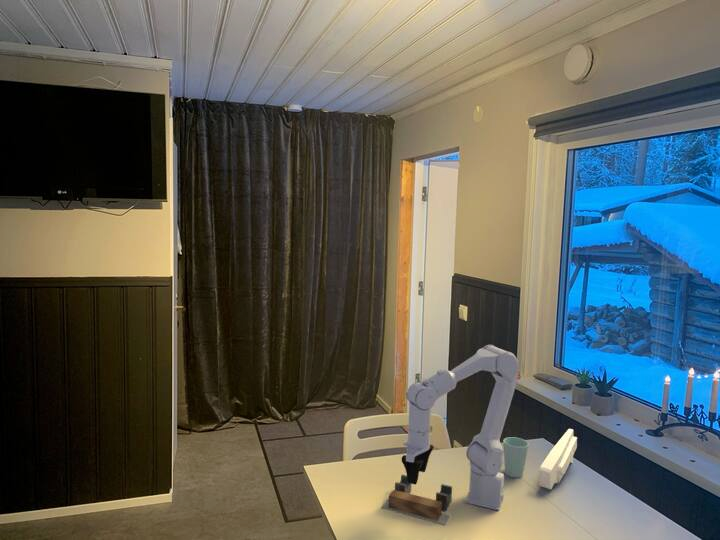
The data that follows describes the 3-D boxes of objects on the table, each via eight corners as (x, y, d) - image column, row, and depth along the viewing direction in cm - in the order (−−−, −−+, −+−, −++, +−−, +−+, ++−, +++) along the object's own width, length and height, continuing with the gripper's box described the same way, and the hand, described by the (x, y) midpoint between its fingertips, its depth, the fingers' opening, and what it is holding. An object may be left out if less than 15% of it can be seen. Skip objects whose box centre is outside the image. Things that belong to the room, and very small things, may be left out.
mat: (449, 515, 145) (449, 514, 145) (445, 525, 141) (445, 524, 141) (387, 499, 153) (387, 498, 153) (380, 508, 148) (381, 507, 148)
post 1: (411, 491, 158) (411, 476, 157) (404, 501, 152) (405, 485, 152) (401, 489, 159) (402, 474, 158) (394, 498, 153) (394, 483, 153)
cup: (521, 467, 175) (523, 437, 174) (530, 479, 167) (532, 447, 166) (498, 467, 175) (500, 436, 174) (506, 479, 167) (508, 447, 166)
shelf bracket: (579, 464, 179) (579, 431, 176) (554, 509, 160) (554, 472, 157) (562, 459, 183) (562, 426, 179) (535, 503, 164) (535, 467, 161)
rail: (441, 514, 145) (442, 501, 145) (438, 520, 142) (438, 508, 142) (392, 501, 151) (393, 489, 151) (388, 507, 148) (388, 495, 148)
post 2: (451, 501, 153) (452, 486, 152) (445, 511, 147) (446, 496, 147) (441, 498, 154) (441, 483, 154) (435, 509, 149) (436, 493, 148)
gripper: (413, 416, 153) (411, 463, 154) (395, 435, 139) (393, 485, 141) (437, 421, 150) (435, 468, 151) (421, 440, 137) (419, 491, 138)
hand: (416, 477), depth 146 cm, fingers open, 7 cm apart
